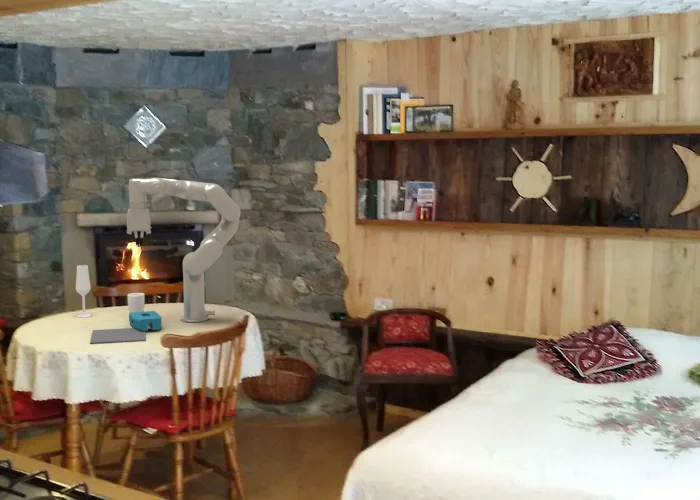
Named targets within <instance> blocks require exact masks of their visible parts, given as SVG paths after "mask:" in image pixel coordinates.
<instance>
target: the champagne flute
mask: <svg viewBox="0 0 700 500" xmlns="http://www.w3.org/2000/svg"><path fill="white" fill-rule="evenodd" d="M75 277H76V278H75V291H76V292H77V293H78V294H79V295H80V296H82V298H81V299H82V300H81V301H82V302H81V303H82V305H81V306H82V312H80V313H79V314H77V315H76V317H77V318H87V317H91V316H92V314H91V313H90V312H88V311H86V295H87V294H89V292H90V291H91V288H92V287H91V281H90V279H91V278H90V272H89V266H88V265H87V264H79V265H76V276H75Z"/></svg>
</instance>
